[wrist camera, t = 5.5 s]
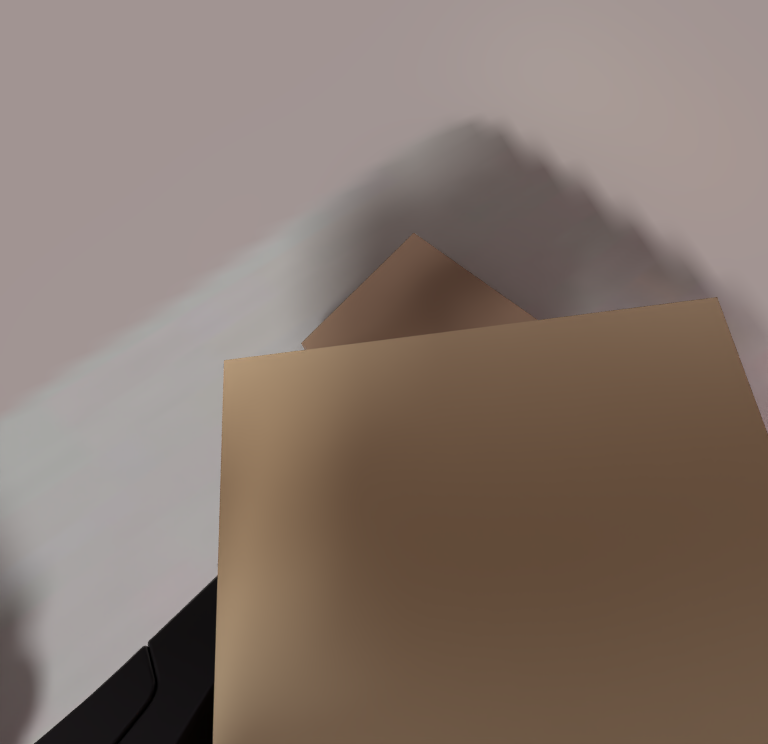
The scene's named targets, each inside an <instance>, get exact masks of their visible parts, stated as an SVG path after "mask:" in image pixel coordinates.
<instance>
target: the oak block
mask: <svg viewBox="0 0 768 744" xmlns="http://www.w3.org/2000/svg"><path fill="white" fill-rule="evenodd" d="M213 744H768V434H767V431H766V428H765V425H764V423H763V420H762V417H761V415H760V412H759V409H758V406H757V404H756V401H755V398H754V396H753V393H752V390H751V388H750V385H749V382H748V379H747V377H746V374H745V371H744V369H743V366H742V363H741V361H740V358H739V355H738V352H737V350H736V347H735V344H734V342H733V339H732V336H731V333H730V331H729V328H728V325H727V323H726V320H725V317H724V315H723V312H722V309H721V306H720V304H719V301H718V298H717V297H715V298H707V299H699V300H691V301H683V302H676V303H668V304H660V305H652V306H644V307H637V308H629V309H621V310H613V311H605V312H598V313H590V314H582V315H574V316H566V317H559V318H551V319H543V320H535V321H527V322H520V323H512V324H504V325H496V326H488V327H481V328H473V329H465V330H457V331H449V332H441V333H434V334H426V335H418V336H410V337H402V338H395V339H387V340H379V341H371V342H363V343H356V344H348V345H340V346H332V347H324V348H317V349H309V350H301V351H293V352H285V353H278V354H270V355H262V356H254V357H246V358H239V359H231V360H224V382H223V416H222V449H221V483H220V516H219V549H218V583H217V616H216V650H215V683H214V716H213Z"/></svg>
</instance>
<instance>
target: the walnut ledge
mask: <svg viewBox="0 0 768 744" xmlns="http://www.w3.org/2000/svg"><path fill="white" fill-rule="evenodd" d="M535 320H537V319H536V318H534V317H533V316H531V315H530V314H528V313H527V312H526V311H524V310H523V309H521V308H520V307H518V306H517V305H516V304H514V303H513V302H511V301H510V300H509V299H507V298H506V297H504V296H503V295H501V294H500V293H499V292H497V291H496V290H494V289H493V288H491V287H490V286H489V285H487V284H486V283H484V282H483V281H482V280H480V279H479V278H477V277H476V276H474V275H473V274H472V273H470V272H469V271H467V270H466V269H464V268H463V267H462V266H460V265H459V264H457V263H456V262H455V261H453V260H452V259H450V258H449V257H447V256H446V255H445V254H443V253H442V252H440V251H439V250H437V249H436V248H435V247H433V246H432V245H430V244H429V243H428V242H426V241H425V240H423V239H422V238H420V237H419V236H418V235H416V234H415V233H413V234H412V235H411V236H410V237H409V238H408V239H407V240H406V241H405V242H404V243H403V244H402V245H401V246H400V247H399V248H398V249H397V250H396V251H395V252H394V253H393V254H392V255H391V256H390V257H389V258H388V259H387V260H386V261H385V262H384V263H383V264H381V265H380V266H379V267H378V268H377V269H376V270H375V271H374V272H373V273H372V274H371V275H370V276H369V277H368V278H367V279H366V280H365V281H364V282H363V283H362V284H361V285H360V286H359V287H358V288H357V289H356V290H355V291H354V292H353V293H352V294H351V295H350V296H349V297H348V298H347V299H346V300H345V301H344V302H343V303H342V304H341V305H340V306H339V307H338V308H337V309H336V310H335V311H334V312H333V313H332V314H331V315H330V316H329V317H328V318H326V319H325V320H324V321H323V322H322V323H321V324H320V325H319V326H318V327H317V328H316V329H315V330H314V331H313V332H312V333H311V334H310V335H309V336H308V337H307V338H306V339H305V340H304V341H303V342H302V343H301V344H302V345H303V347H304V349H305V350H309V349H317V348H324V347H332V346H340V345H348V344H356V343H363V342H371V341H379V340H387V339H395V338H402V337H410V336H418V335H426V334H434V333H441V332H449V331H457V330H465V329H473V328H481V327H488V326H496V325H504V324H512V323H520V322H527V321H535Z"/></svg>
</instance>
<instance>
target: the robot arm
mask: <svg viewBox="0 0 768 744" xmlns="http://www.w3.org/2000/svg"><path fill="white" fill-rule="evenodd" d="M217 583H218V575H217V576H216V577H215V578H214V579H213V580H212V581H211V582H210V583H209V584H208V585H207V586H206V587H205V588H204V589H203V590H202V591H201V592H200V593H199V594H198V595H196V596H195V597H194V598H193V599H192V600H191V601H190V602H189V603H188V604H187V605H186V606H185V607H184V608H183V609H182V610H181V611H180V612H179V613H178V614H177V615H176V616H175V617H173V618H172V619H171V620H170V621H169V622H168V623H167V624H166V625H165V626H164V627H163V628H162V629H161V630H160V631H159V632H158V633H157V634H156V635H155V636H154V637H153V638H151V639H150V640H149V642H148V646H143V647H142V648H141V649H140V650H139V651H138V652H137V653H136V654H134V655H133V656H132V657H131V658H130V659H129V660H128V661H127V662H126V663H125V664H124V665H123V666H122V667H121V668H120V669H119V670H118V671H116V672H115V673H114V674H113V675H112V676H111V677H110V678H109V679H108V680H107V681H106V682H104V683H103V684H102V685H101V686H100V687H99V688H98V689H97V690H96V691H95V692H94V693H93V694H91V695H90V696H89V697H88V698H87V699H86V700H85V701H84V702H82V703H81V704H80V705H79V706H78V707H77V708H75V709H74V710H73V711H72V712H71V713H70V714H68V715H67V716H66V717H65V718H64V719H63V720H61V721H60V722H59V723H58V724H57V725H56V726H54V727H53V728H52V729H51V730H50V731H49V732H47V733H46V734H45V735H44V736H43V737H42V738H40V739H39V740H38V741H37V742H35V743H34V744H213V716H214V683H215V650H216V616H217Z"/></svg>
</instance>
